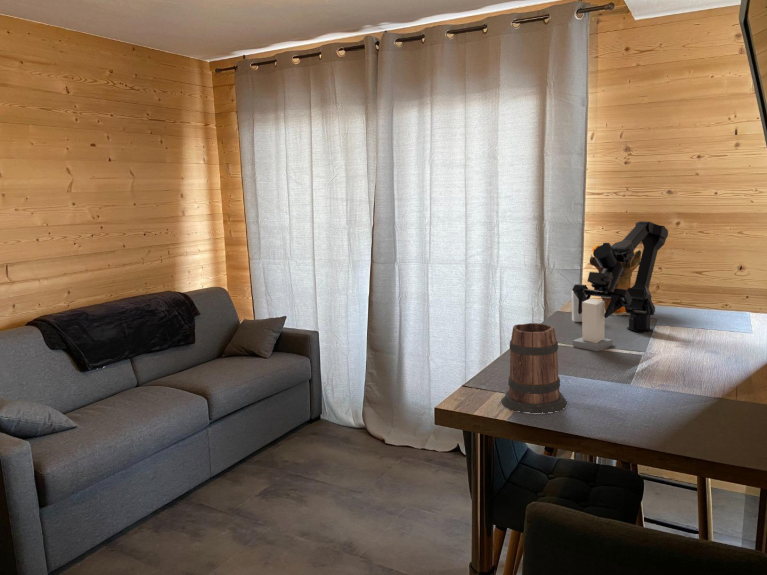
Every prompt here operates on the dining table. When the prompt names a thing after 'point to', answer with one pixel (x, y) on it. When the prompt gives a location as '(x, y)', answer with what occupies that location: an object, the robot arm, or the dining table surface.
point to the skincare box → (575, 309)
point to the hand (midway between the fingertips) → (591, 315)
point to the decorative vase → (624, 279)
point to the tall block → (593, 320)
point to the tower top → (593, 344)
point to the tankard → (534, 370)
